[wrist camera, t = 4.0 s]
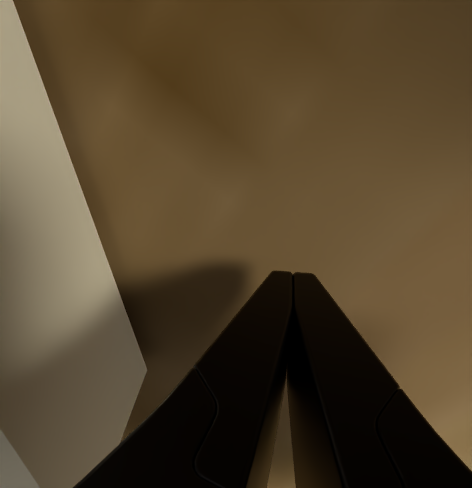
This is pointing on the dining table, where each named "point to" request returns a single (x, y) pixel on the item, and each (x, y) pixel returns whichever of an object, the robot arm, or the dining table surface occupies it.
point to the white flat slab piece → (53, 297)
